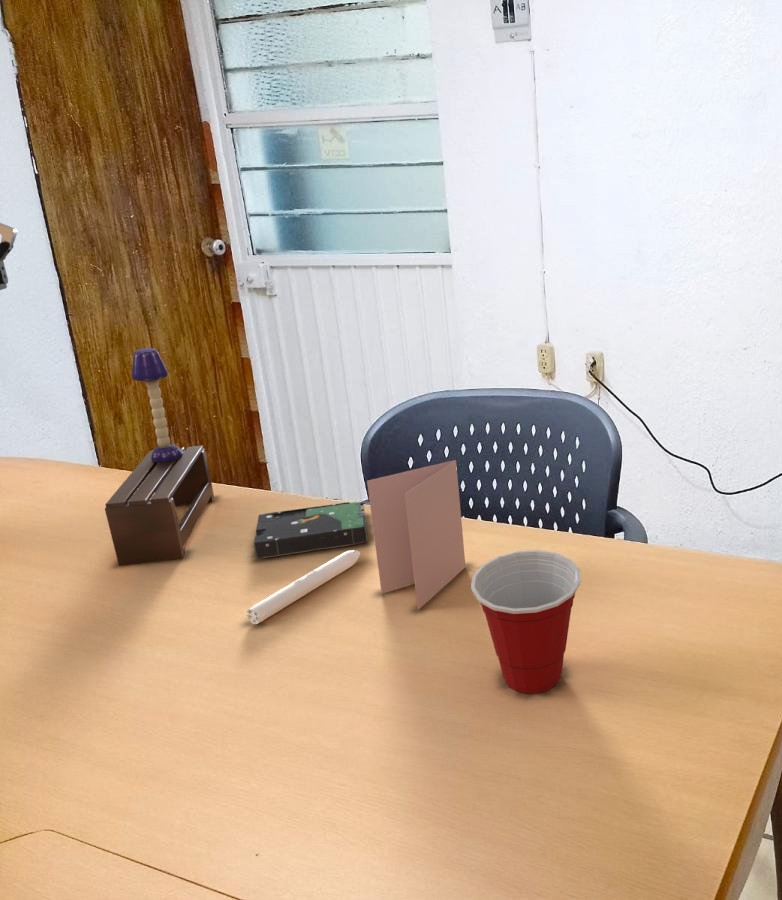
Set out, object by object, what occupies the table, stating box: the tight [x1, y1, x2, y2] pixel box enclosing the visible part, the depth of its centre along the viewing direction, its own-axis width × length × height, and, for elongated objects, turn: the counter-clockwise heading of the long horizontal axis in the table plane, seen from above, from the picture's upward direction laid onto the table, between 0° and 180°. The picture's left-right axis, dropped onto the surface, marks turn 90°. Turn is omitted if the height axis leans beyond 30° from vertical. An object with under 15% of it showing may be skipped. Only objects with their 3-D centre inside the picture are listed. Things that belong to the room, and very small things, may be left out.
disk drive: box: [253, 501, 369, 559], centre depth 118 cm, size 10×3×15 cm
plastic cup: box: [470, 549, 582, 695], centre depth 83 cm, size 11×11×12 cm
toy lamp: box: [131, 347, 183, 462], centre depth 122 cm, size 5×5×17 cm
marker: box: [246, 549, 361, 625], centre depth 103 cm, size 18×2×2 cm, turn 154°
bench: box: [104, 445, 215, 566], centre depth 121 cm, size 8×22×9 cm, turn 13°
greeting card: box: [366, 459, 467, 611], centre depth 101 cm, size 11×7×15 cm, turn 124°
